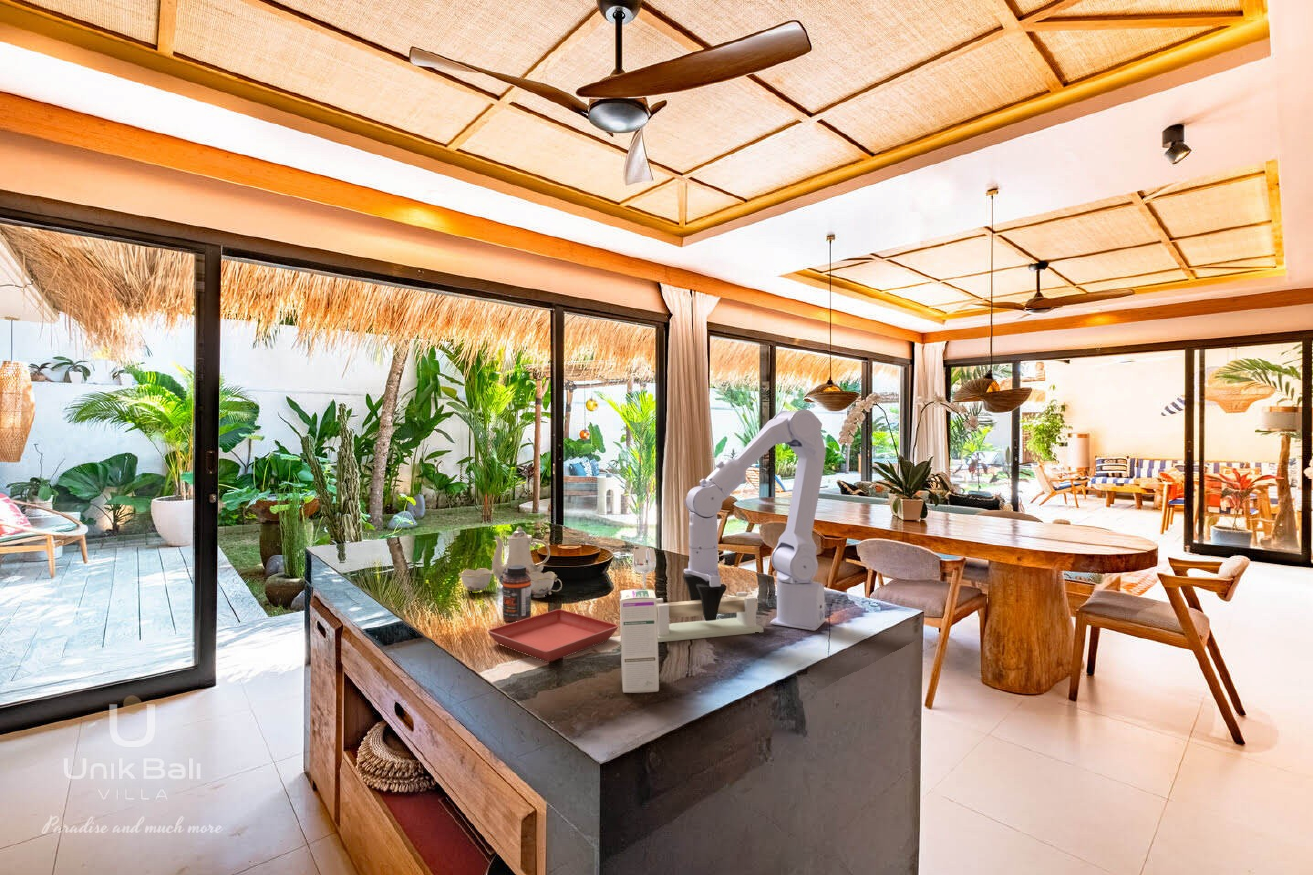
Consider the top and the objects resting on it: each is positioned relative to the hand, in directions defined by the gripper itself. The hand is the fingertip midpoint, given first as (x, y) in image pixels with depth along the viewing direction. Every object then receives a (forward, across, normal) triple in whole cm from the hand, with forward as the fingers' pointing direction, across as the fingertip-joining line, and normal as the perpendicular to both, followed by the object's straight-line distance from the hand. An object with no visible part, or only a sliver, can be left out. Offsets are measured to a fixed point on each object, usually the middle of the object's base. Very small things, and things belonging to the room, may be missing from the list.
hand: (703, 614), depth 123 cm
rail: (0, 0, 0) cm, 0 cm away
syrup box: (+3, +23, -18) cm, 29 cm away
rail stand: (+3, 0, 0) cm, 3 cm away
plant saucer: (+4, -1, -30) cm, 30 cm away
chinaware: (+4, -44, -36) cm, 57 cm away
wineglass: (+3, -28, -6) cm, 29 cm away
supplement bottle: (+4, -19, -36) cm, 41 cm away
